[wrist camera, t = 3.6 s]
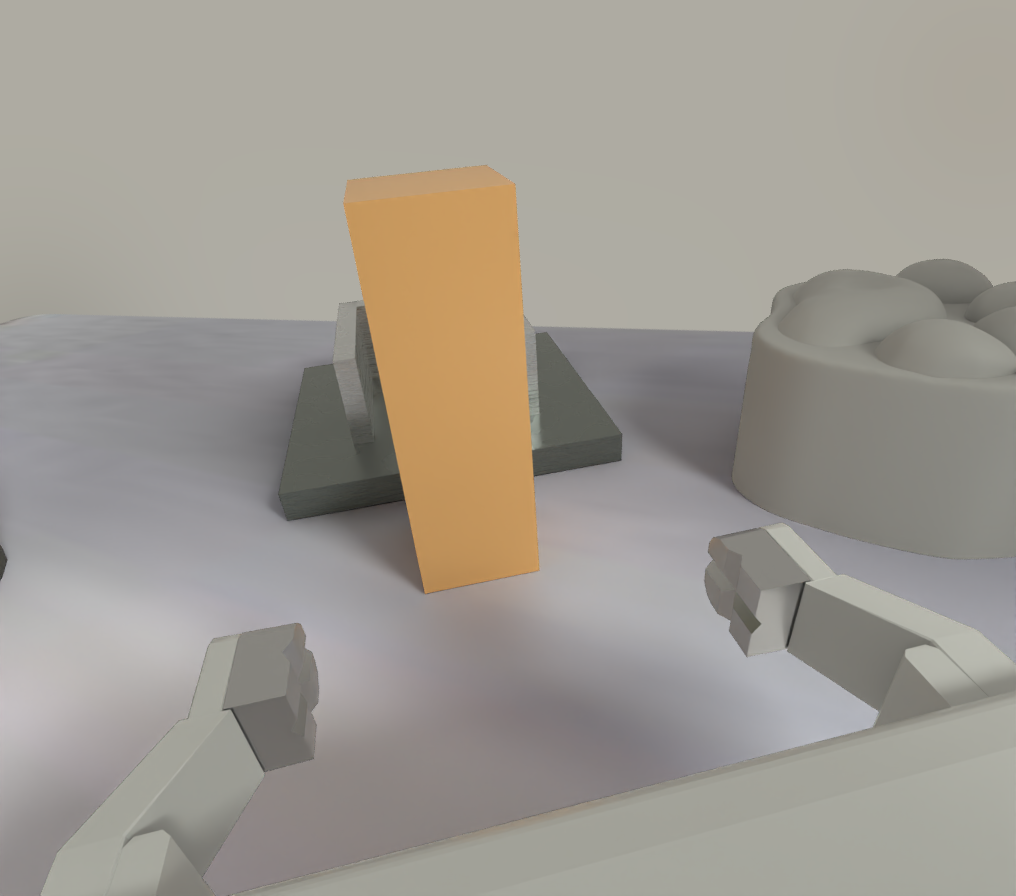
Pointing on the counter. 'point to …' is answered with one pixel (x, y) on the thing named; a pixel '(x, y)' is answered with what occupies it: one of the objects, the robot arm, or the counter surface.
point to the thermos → (2, 562)
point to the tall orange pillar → (451, 364)
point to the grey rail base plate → (367, 435)
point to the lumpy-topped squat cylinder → (887, 410)
